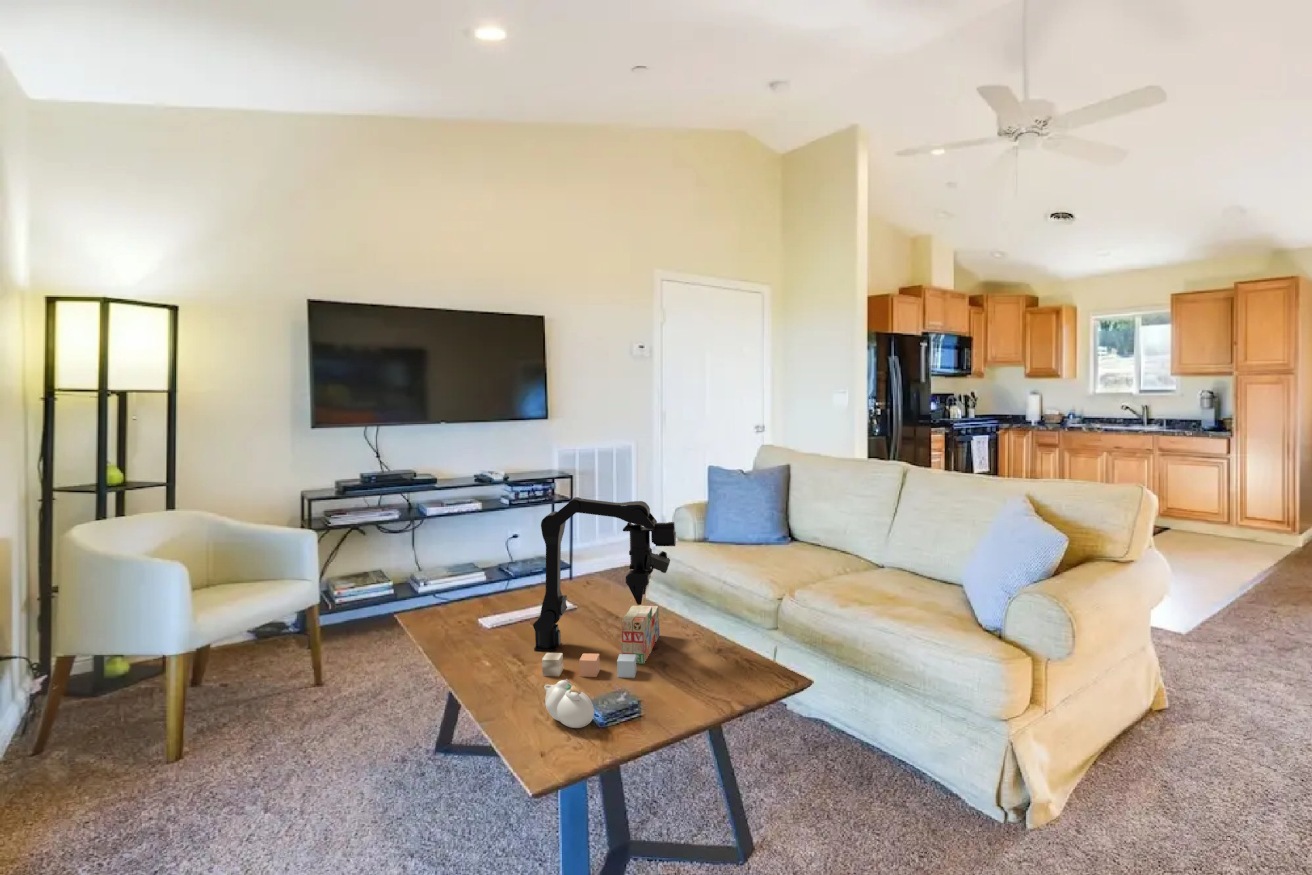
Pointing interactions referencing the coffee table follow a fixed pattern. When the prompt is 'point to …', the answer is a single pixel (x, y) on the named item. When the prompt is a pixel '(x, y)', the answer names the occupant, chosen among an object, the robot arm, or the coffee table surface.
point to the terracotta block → (589, 665)
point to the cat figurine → (568, 704)
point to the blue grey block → (626, 665)
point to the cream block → (552, 664)
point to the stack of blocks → (640, 631)
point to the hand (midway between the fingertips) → (641, 599)
